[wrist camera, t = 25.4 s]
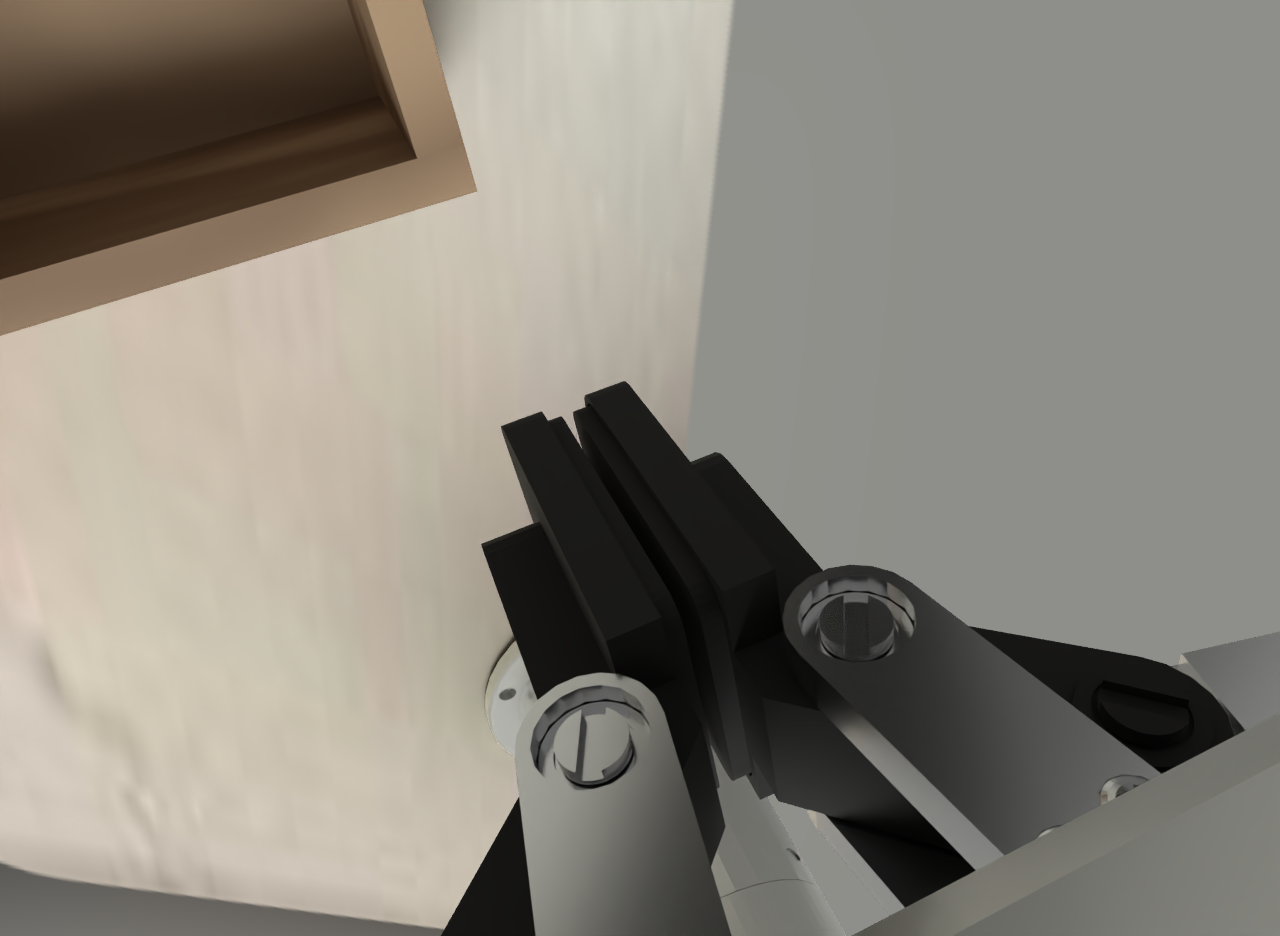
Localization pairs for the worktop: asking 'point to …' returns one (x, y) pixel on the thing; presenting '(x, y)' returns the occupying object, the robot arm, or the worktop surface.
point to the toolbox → (206, 138)
